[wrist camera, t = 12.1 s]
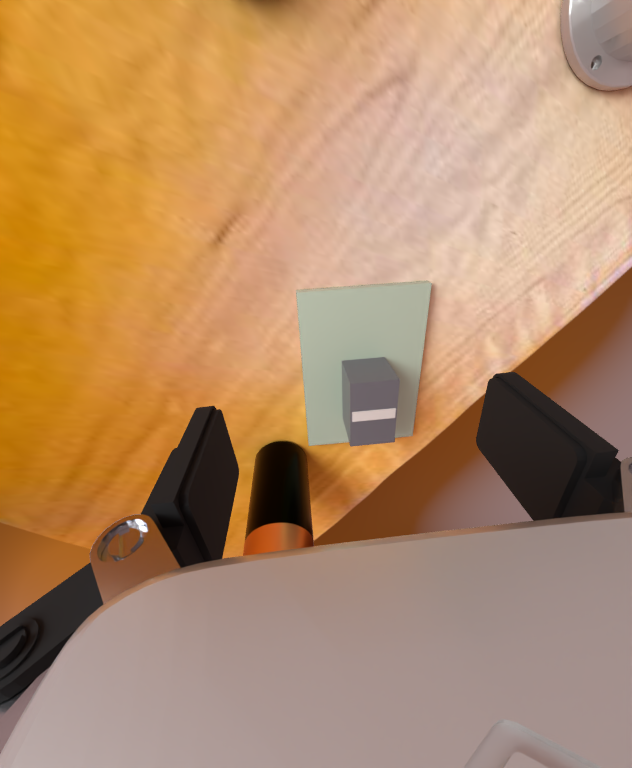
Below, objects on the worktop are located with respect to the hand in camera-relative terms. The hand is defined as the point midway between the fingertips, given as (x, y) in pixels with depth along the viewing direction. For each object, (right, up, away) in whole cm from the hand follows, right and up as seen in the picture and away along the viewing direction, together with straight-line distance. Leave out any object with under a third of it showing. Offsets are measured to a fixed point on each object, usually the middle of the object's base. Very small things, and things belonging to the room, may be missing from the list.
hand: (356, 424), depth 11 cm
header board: (+4, +3, +27) cm, 27 cm away
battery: (-6, -9, +33) cm, 35 cm away
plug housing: (+4, +1, +27) cm, 27 cm away
